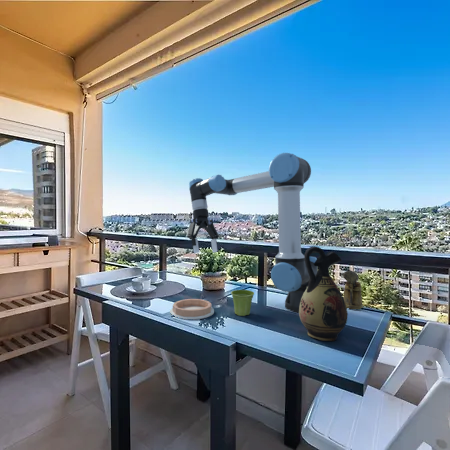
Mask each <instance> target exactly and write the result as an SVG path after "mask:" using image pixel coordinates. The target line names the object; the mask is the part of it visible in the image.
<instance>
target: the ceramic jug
mask: <svg viewBox="0 0 450 450" xmlns="http://www.w3.org/2000/svg"><path fill="white" fill-rule="evenodd" d="M304 252H305V253H304V254H303V255H304V260H305V263H306V267H307V270H308V273H309V277H310V279H309V284H308V287H307V289H306V290H305V292H304V294H303V296H302V298H301V302H300V306H299V312H298V315H299V320H300V322H301V323H302V325H303V326H304V328H305V329H306V331H307V336H308V337H310V338H313V339H315V340H316V339H317V340H319V341H323V342H335V341H337V339H338V336H339V335H340V333H341V332H342V331H343V329H344V328H345V326H346V325H347V323H348V316H349V314H348V309H347V308H346V304H345V301H344V298H343V297H344V295H343V294H342V292H341V290H340V289H339V287H338V285H337V283H335V281H334V280H333V278H332V276H331V275H330V271H329V268H330V267H331V266H333V265H335V264H337V263H340V262H342V258H341V257H340V256H339V255H338V253H336V252H334V251H328V252H327V253H325V251H324V250H323V248H320V247H318V246H309V248H307V249H306V250H305V251H304ZM316 253H317V254H319V257H318V258H317V257H316V258H317V260H316V261H315V263H314V265H315V266H318V270H317V274H316V276H315V274H314V272H313V269H312V266H311V263H310V256H311V255H312V254H316Z"/></svg>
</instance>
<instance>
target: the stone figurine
mask: <svg viewBox="0 0 450 450" xmlns="http://www.w3.org/2000/svg"><path fill="white" fill-rule="evenodd" d="M342 275H343V278H344V280H345V284H344V291H343V298H344V301H345V304H346V308H349V309H348V310H351V309H361V308H363V309H364V304H363V298H362V291H363V290H362V283H361V282H359V275H358V274H357V272H355V271H353V270H351V269H349V270H346V271H344V272H343V274H342Z"/></svg>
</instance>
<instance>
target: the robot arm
mask: <svg viewBox="0 0 450 450" xmlns="http://www.w3.org/2000/svg"><path fill="white" fill-rule="evenodd" d="M311 174H312V168H311V165H310V163H309V161H307V160H306V159H304V158H302V157H300V156H297V155H295V154H294V153H290V152H281V153H279V154H277V155H275V156H274V157H273V159H271V161H270V163H269V166H268V171H264V172H258V173H254V174H250V175H249V174H248V175H245V176H241V177H236V178H231V179H225V177H224V176H223V175H222V174H215V175H212V176H210V177H209V178H206V179H203V178H200V177H199V178H198V177H197V178H192V179H191V180H190V181H189V182H188V183H189V184H188V185H189V186H188V187H189V194H190V201H191V208H192V210H193V211H192V215H193V216H192V217H193V218H190V219H189V220H190V224H189V228H188V232H187V238H189V240H191V244H192V245H191V246H192V248H193V249H192V250H193V254H198V253H200V248H199V240H198V238H197V237H198V233H199V232H200V229H202V230H204V231H205V232H206V233H207V234H208V236H209V237H210V238H211V239H210V242H211V243H210V244H211V251H212V253H216V252H218V251H219V250H218V242H217V239H218V238H219V237H220V236H219V235H220V234H218V231H217V229H216V227H215V225H214V221H213V219H209V217H210V216H209V215H210V214H209V209H208V207H209V206H208V201H207V196H211V195H213V194H217V195H218V194H220V195H226V196H236V195H237V194H241V193H247V192H251V191H256V190H257V191H258V190H262V189H270V188H273V190H275V192H276V193H277V208H278V209H277V213H278V216H277V217H278V224H277V225H278V252H277V254H276V255H275V265H273V267H272V269H271V271H270V278H271V282H272V283H273V285H274V286H275V287H276V288H277V289H278V290H280V291H281V292H285V293H287V294H286V298H285V300H284V307H285V309H287V310H289V311H291V312H294V313H299V306H300V302H301V298H302V296H303V294H304V292H305V290H306V289H307V287H308V284H309V279H310V277H309V273H308V270H307V267H306V263H305V260H304V255H305V254H303V253H302V244H301V243H302V238H301V237H302V236H301V235H302V234H301V231H302V230H301V191H302V190H303V189H304V186H305V185H304V184H306V183H307V182H308V181H309V179H310V177H311ZM316 260H317V257H316V256H311V255H310V263H311V266H312V269H313V272H314V274H315V276H316V274H317V271H318V269H319V267H318V266H315V265H314V263H315V261H316Z"/></svg>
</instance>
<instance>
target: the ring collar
mask: <svg viewBox="0 0 450 450" xmlns="http://www.w3.org/2000/svg"><path fill="white" fill-rule="evenodd" d="M170 313H171V314H172V315H174V316H176V317H179V318H178V319H180V318H183V319H182V320H188V319H193V320H202V319H206V318H209V317H211V316H212V315H214V313H215V309H214V307H212V302H210V301H208V300H206V299H201V298H188V299H187V298H186V299H185V298H184V299H181V300H178V301H175V302H174V303H173V305H172V308H171V309H170V310H169V314H170ZM171 314H170V315H171ZM172 315H171V316H172ZM176 317H175V318H176Z"/></svg>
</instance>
